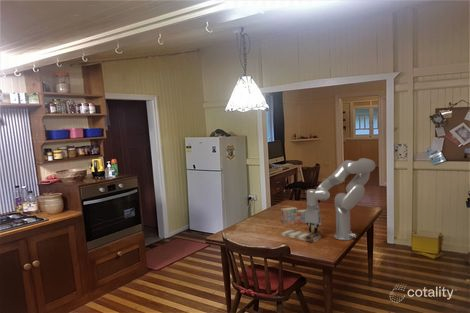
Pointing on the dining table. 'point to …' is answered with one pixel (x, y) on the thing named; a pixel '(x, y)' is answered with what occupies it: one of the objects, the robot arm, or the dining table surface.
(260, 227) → the dining table surface
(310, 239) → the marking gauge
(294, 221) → the stack of blocks
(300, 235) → the birch board
